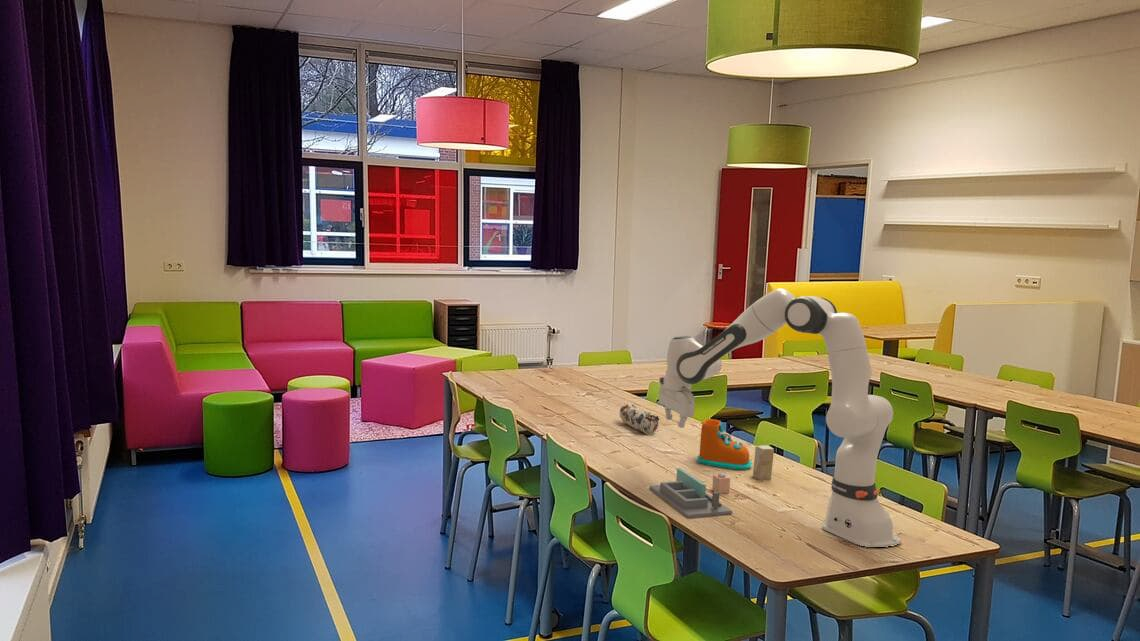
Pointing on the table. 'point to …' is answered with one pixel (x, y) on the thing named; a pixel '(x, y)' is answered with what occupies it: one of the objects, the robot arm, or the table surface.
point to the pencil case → (639, 418)
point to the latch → (691, 482)
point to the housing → (690, 500)
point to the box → (763, 462)
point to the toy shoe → (721, 448)
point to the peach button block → (721, 483)
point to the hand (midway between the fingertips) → (674, 423)
